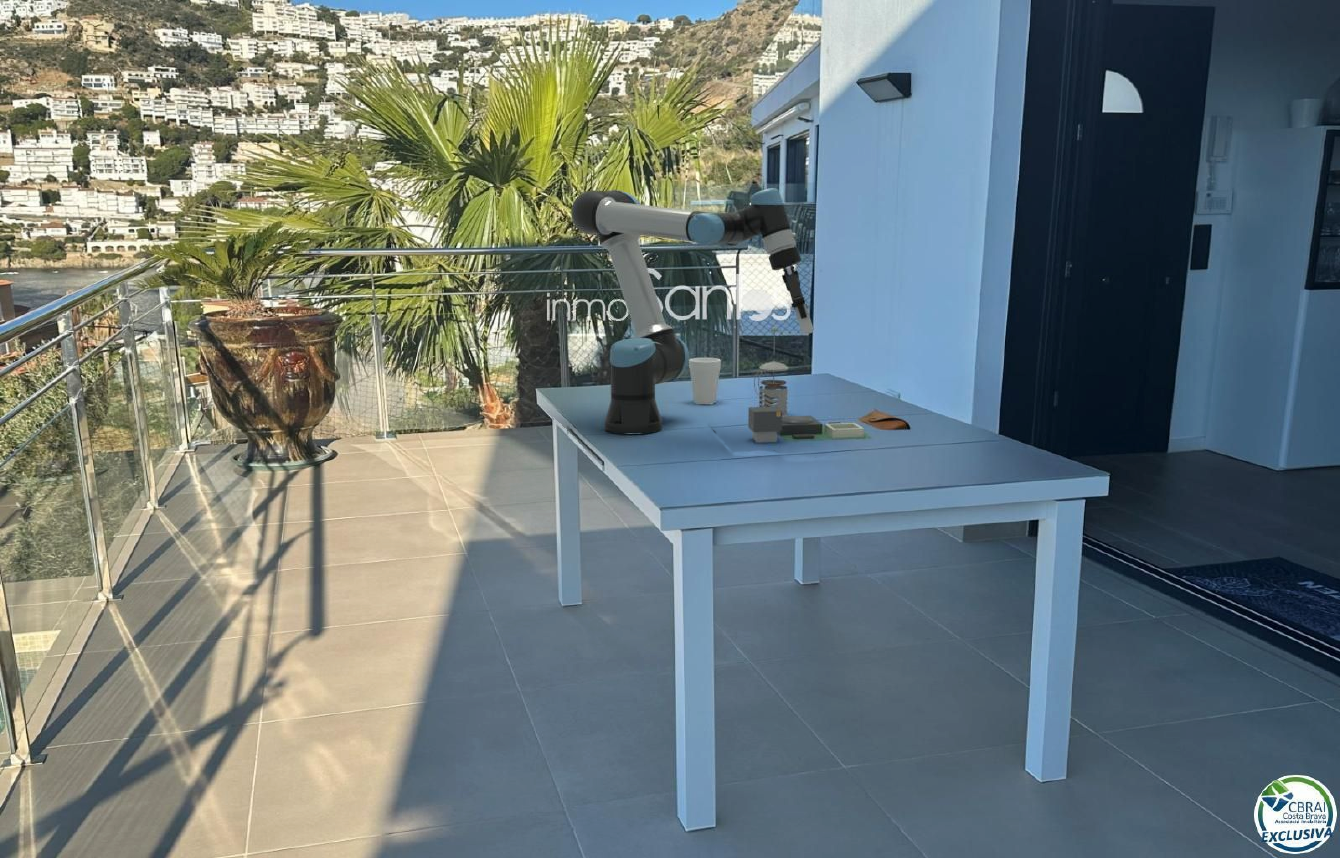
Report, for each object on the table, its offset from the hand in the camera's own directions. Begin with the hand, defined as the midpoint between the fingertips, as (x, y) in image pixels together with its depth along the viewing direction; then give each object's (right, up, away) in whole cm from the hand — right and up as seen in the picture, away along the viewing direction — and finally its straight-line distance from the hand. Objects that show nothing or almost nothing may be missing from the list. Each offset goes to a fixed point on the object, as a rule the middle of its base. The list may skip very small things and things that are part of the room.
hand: (808, 332), depth 255 cm
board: (+4, -26, +7) cm, 27 cm away
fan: (-2, -24, +10) cm, 26 cm away
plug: (-11, -28, -2) cm, 30 cm away
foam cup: (-24, -16, +54) cm, 61 cm away
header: (+9, -25, +4) cm, 27 cm away
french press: (-6, -20, +34) cm, 40 cm away
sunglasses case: (+21, -24, +17) cm, 37 cm away
